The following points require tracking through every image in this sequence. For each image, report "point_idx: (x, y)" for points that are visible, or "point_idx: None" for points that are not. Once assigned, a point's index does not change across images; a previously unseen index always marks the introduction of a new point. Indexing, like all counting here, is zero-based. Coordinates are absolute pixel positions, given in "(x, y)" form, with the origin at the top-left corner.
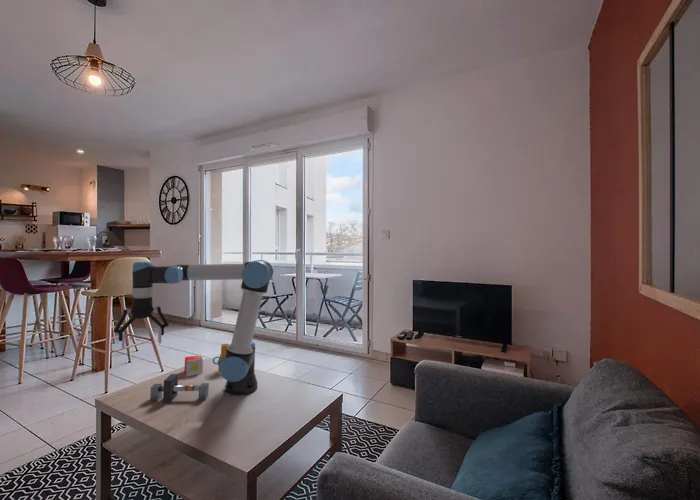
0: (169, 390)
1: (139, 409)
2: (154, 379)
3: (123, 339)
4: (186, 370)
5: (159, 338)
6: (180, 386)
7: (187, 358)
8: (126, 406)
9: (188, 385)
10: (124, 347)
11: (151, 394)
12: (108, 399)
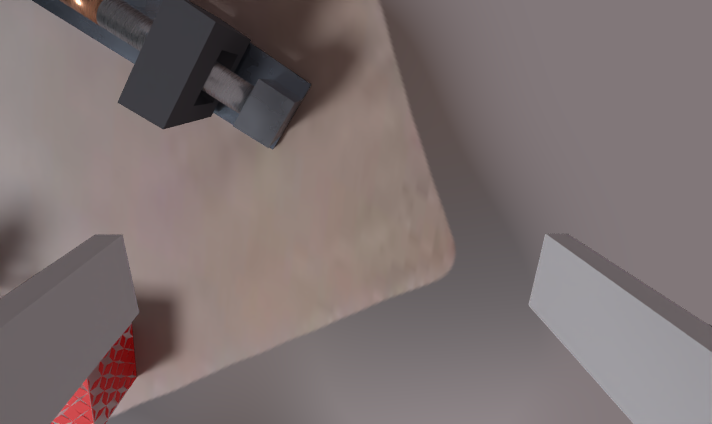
0: (202, 9)
1: (348, 73)
2: (259, 350)
3: (668, 309)
4: (116, 341)
5: (68, 276)
6: (135, 21)
7: (82, 415)
8: (387, 139)
9: (84, 1)
10: (556, 239)
11: (294, 97)
12: (432, 247)
